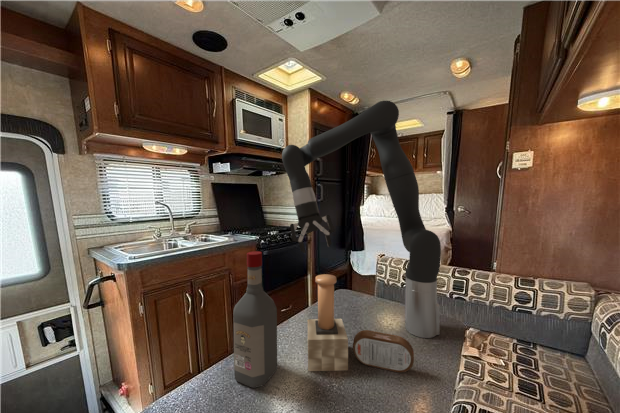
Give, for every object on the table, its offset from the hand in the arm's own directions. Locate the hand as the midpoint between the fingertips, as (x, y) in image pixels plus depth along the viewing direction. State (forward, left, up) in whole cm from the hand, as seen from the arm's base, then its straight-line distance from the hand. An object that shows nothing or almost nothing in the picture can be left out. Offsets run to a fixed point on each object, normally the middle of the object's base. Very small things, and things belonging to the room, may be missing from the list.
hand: (316, 249), depth 78 cm
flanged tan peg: (-1, +16, -25) cm, 30 cm away
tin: (-15, +20, -26) cm, 36 cm away
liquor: (+17, +21, -26) cm, 37 cm away
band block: (-1, +16, -26) cm, 30 cm away
